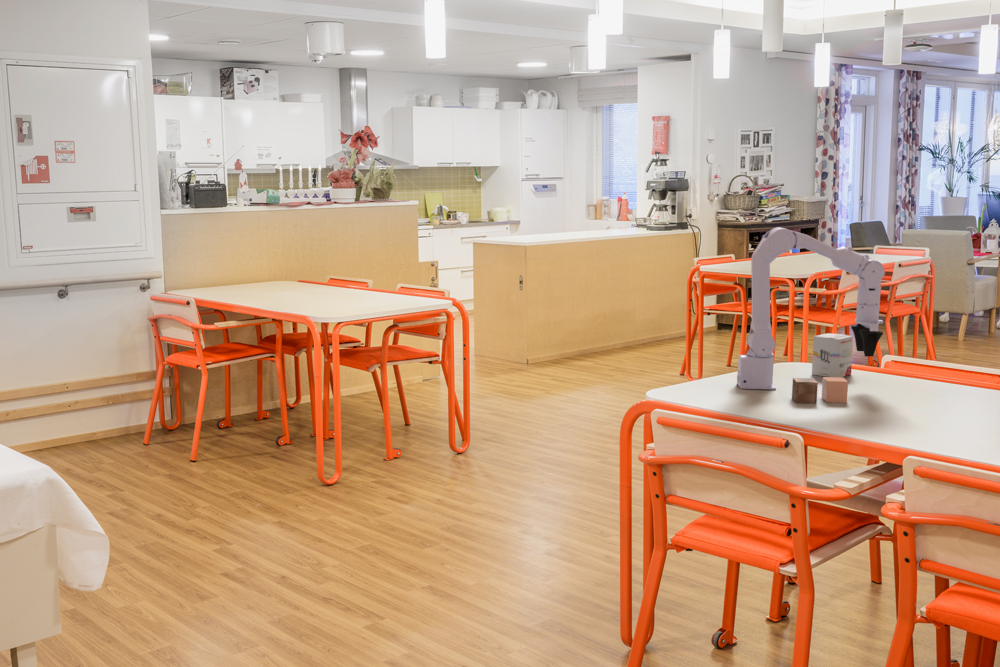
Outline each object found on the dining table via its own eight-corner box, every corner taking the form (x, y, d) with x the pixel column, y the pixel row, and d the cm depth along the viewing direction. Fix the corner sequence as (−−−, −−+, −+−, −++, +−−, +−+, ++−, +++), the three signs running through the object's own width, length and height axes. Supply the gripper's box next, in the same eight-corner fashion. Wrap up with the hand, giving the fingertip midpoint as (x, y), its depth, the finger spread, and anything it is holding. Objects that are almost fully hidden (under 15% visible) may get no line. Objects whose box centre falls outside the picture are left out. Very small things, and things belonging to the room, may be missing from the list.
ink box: (825, 370, 283) (827, 331, 282) (852, 375, 277) (854, 335, 275) (810, 374, 278) (812, 335, 276) (837, 379, 271) (840, 338, 270)
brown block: (795, 402, 241) (796, 381, 241) (791, 398, 247) (792, 377, 246) (816, 403, 241) (817, 382, 240) (812, 398, 246) (813, 378, 245)
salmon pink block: (826, 402, 243) (827, 381, 242) (821, 397, 248) (822, 377, 247) (846, 402, 242) (848, 381, 241) (841, 398, 247) (843, 377, 246)
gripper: (891, 307, 246) (888, 358, 248) (876, 301, 260) (872, 349, 262) (863, 307, 246) (860, 358, 249) (849, 300, 261) (846, 348, 263)
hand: (864, 353), depth 255 cm, fingers open, 7 cm apart
